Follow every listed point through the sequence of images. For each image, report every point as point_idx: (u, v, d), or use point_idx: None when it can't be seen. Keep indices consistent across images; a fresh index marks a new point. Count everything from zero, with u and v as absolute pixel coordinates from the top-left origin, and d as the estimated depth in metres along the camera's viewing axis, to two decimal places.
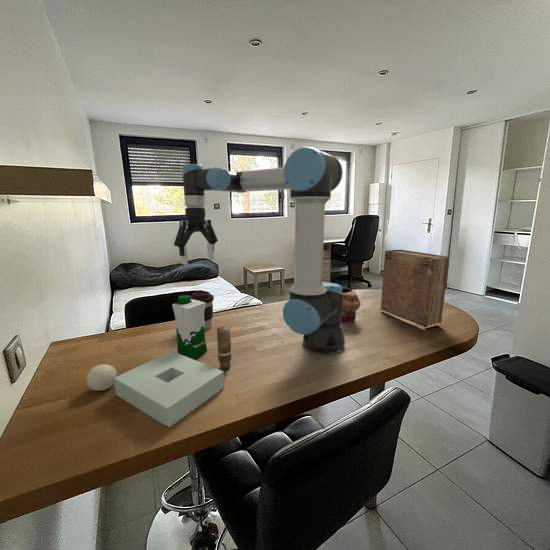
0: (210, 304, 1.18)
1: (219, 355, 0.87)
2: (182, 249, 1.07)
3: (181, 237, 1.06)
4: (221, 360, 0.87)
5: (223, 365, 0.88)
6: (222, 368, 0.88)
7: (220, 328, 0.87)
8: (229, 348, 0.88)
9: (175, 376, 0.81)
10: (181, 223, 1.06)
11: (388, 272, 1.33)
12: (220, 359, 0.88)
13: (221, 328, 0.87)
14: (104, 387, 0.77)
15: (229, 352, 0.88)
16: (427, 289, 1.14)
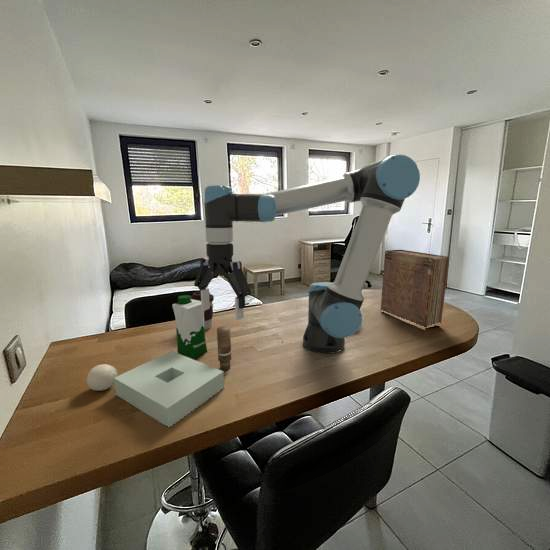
0: (210, 304, 1.18)
1: (219, 355, 0.87)
2: (200, 291, 0.89)
3: (197, 277, 0.87)
4: (221, 360, 0.87)
5: (223, 365, 0.88)
6: (222, 368, 0.88)
7: (220, 328, 0.87)
8: (229, 348, 0.88)
9: (175, 376, 0.81)
10: None
11: (388, 272, 1.33)
12: (220, 359, 0.88)
13: (221, 328, 0.87)
14: (104, 387, 0.77)
15: (229, 352, 0.88)
16: (427, 289, 1.14)
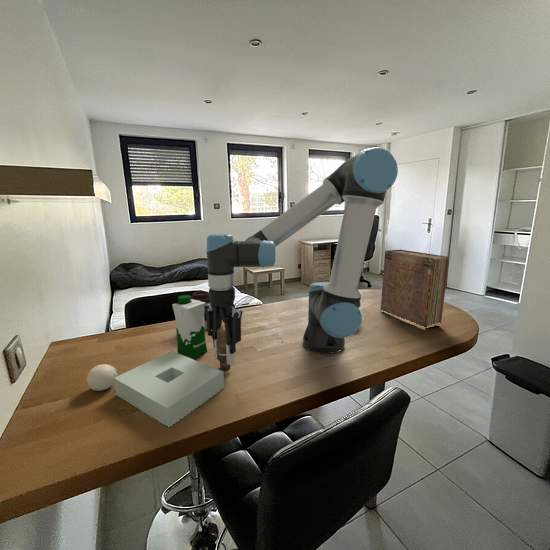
0: None
1: (219, 355, 0.87)
2: None
3: (208, 325, 0.89)
4: (221, 360, 0.87)
5: (223, 365, 0.88)
6: (222, 368, 0.88)
7: (220, 328, 0.87)
8: None
9: (175, 376, 0.81)
10: None
11: (388, 272, 1.33)
12: (220, 359, 0.88)
13: (221, 328, 0.87)
14: (104, 387, 0.77)
15: None
16: (427, 289, 1.14)
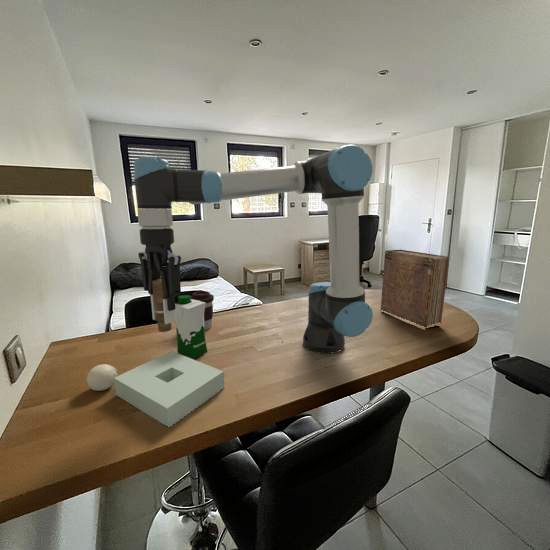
0: (210, 304, 1.18)
1: (155, 313, 0.72)
2: (151, 296, 0.74)
3: (143, 277, 0.73)
4: (158, 319, 0.72)
5: (161, 326, 0.72)
6: (160, 329, 0.73)
7: (157, 280, 0.72)
8: None
9: (175, 376, 0.81)
10: None
11: (388, 272, 1.33)
12: (157, 318, 0.72)
13: (158, 280, 0.72)
14: (104, 387, 0.77)
15: None
16: (427, 289, 1.14)
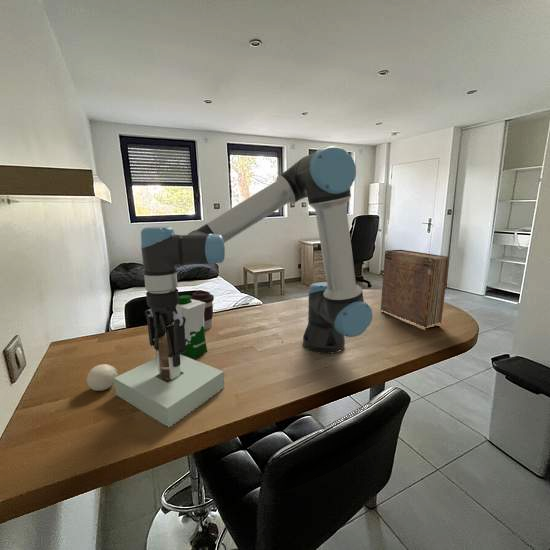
0: (210, 304, 1.18)
1: (161, 368, 0.75)
2: (157, 351, 0.77)
3: (149, 333, 0.77)
4: (164, 374, 0.75)
5: (166, 380, 0.76)
6: None
7: (162, 337, 0.75)
8: None
9: None
10: None
11: (388, 272, 1.33)
12: (162, 373, 0.75)
13: (164, 337, 0.75)
14: (104, 387, 0.77)
15: None
16: (427, 289, 1.14)
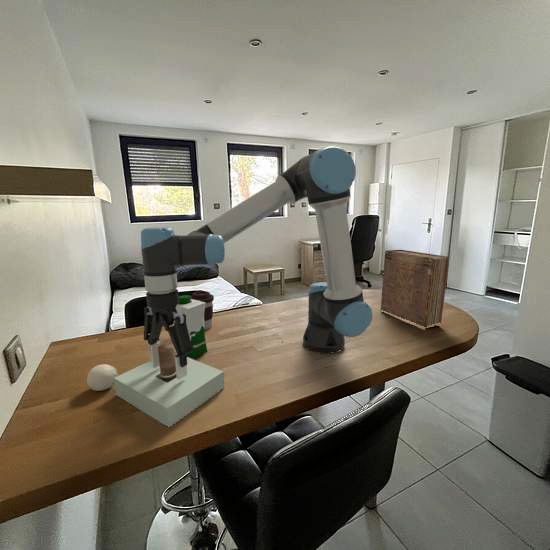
0: (210, 304, 1.18)
1: (161, 377, 0.76)
2: None
3: (145, 329, 0.78)
4: None
5: None
6: None
7: (162, 346, 0.76)
8: (173, 369, 0.76)
9: None
10: None
11: (388, 272, 1.33)
12: None
13: (163, 346, 0.76)
14: (104, 387, 0.77)
15: (173, 373, 0.76)
16: (427, 289, 1.14)
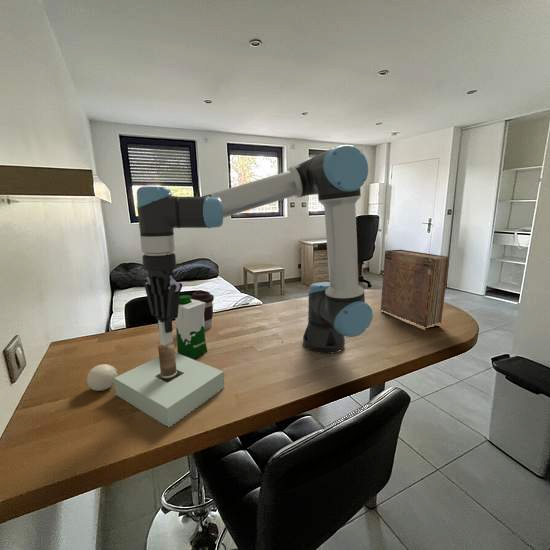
0: (210, 304, 1.18)
1: (161, 377, 0.76)
2: None
3: (149, 303, 0.74)
4: None
5: None
6: None
7: (162, 346, 0.76)
8: (173, 369, 0.76)
9: None
10: None
11: (388, 272, 1.33)
12: None
13: (164, 346, 0.76)
14: (104, 387, 0.77)
15: (173, 374, 0.76)
16: (427, 289, 1.14)
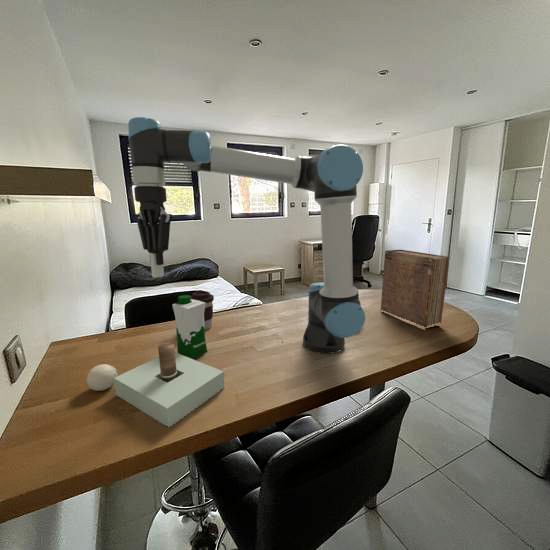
0: (210, 304, 1.18)
1: (161, 377, 0.76)
2: None
3: (141, 237, 0.78)
4: None
5: None
6: None
7: (162, 346, 0.76)
8: (173, 369, 0.76)
9: None
10: None
11: (388, 272, 1.33)
12: None
13: (164, 346, 0.76)
14: (104, 387, 0.77)
15: (173, 374, 0.76)
16: (427, 289, 1.14)
